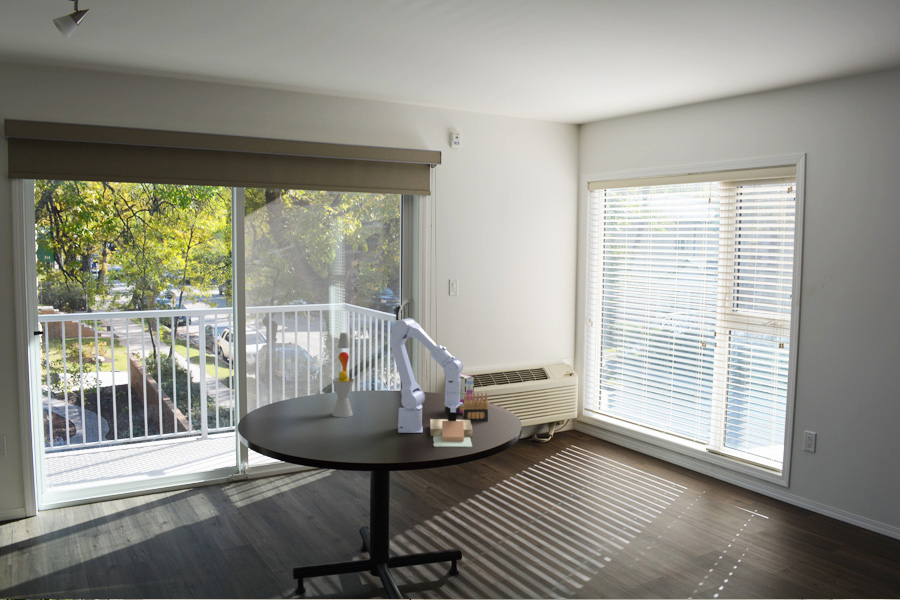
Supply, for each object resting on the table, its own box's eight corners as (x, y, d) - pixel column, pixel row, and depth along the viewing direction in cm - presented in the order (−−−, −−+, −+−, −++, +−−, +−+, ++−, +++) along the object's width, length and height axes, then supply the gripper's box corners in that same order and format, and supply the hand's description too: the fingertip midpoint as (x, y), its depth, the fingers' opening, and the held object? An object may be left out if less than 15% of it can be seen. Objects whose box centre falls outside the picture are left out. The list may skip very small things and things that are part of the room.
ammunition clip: (463, 421, 267) (464, 393, 266) (462, 420, 269) (463, 392, 268) (488, 421, 269) (489, 392, 268) (486, 419, 271) (487, 391, 270)
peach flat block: (442, 440, 238) (442, 436, 237) (441, 424, 245) (442, 420, 243) (463, 441, 238) (464, 436, 237) (462, 425, 245) (463, 421, 244)
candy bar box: (473, 414, 280) (474, 377, 278) (464, 415, 277) (465, 378, 275) (458, 408, 288) (459, 372, 287) (449, 410, 285) (450, 373, 284)
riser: (430, 436, 244) (430, 428, 244) (430, 426, 258) (430, 419, 258) (472, 437, 245) (472, 429, 245) (469, 427, 259) (469, 419, 258)
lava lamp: (333, 411, 276) (334, 331, 274) (354, 411, 277) (355, 331, 274) (330, 417, 267) (331, 334, 265) (352, 417, 268) (353, 334, 265)
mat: (433, 446, 232) (433, 445, 232) (433, 437, 244) (433, 436, 244) (472, 447, 232) (472, 446, 232) (469, 437, 244) (469, 436, 244)
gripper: (464, 395, 238) (463, 431, 239) (461, 387, 252) (460, 421, 253) (445, 395, 237) (444, 431, 238) (444, 387, 252) (443, 421, 253)
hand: (451, 426), depth 246 cm, fingers closed
